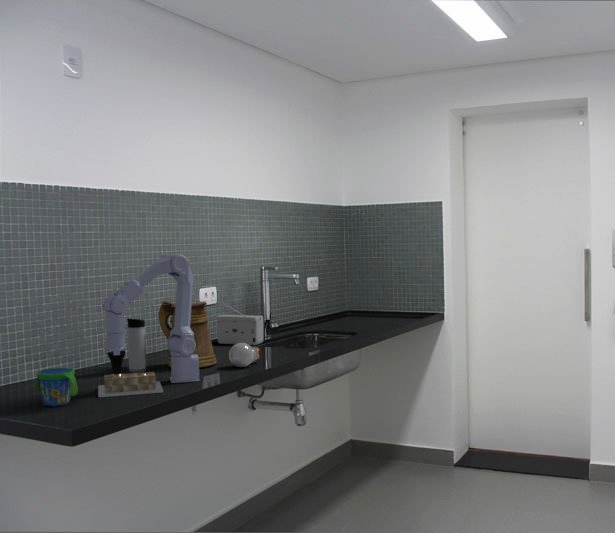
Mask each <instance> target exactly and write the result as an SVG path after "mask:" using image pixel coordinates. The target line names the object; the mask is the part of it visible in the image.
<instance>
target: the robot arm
mask: <svg viewBox="0 0 615 533" xmlns="http://www.w3.org/2000/svg"><path fill="white" fill-rule="evenodd" d="M190 263H191V261H190V259H188V258H187V256H185V255H183V254H182V253H178V254H174V253H173V254H171V253H165V254H163V255H161V256H160V257H159V258H157V259H155V262H154V263H152V264H151V265H150V266H149V267H148V268H147V269H146V270H145V271H144V272H143V273H141V275H140V276H138V277H137V278H136V279H130V280H126V281H124V284H123V286H122V287H120V288H119V289H118V290H115V291H113V295H108V296H106V298H105V299H104V301H103V304H102V305H101V306H102V308H103V310H104V311H105V318H106V319H105V320H106V321H105V324H106V325H105V326H106V329H105V330H106V345H104V346H102V348H103V350H108V352H107V353H106V355H107V357H108V359H109V361H110V365H111V369H112V375H113V374H120V373H121V372H122V367H123V361H124V358H125V357H126V356H125V355H126V351H125V350H124V349H127V346H126V331H125V330H126V329H125V328H126V327H125V326H126V325H125V324H126V323H125V312H126V311H127V310H128V306H129V305H130V304H131V303H132V302H133V301H135V300H136V299H137V298H138V297H139V296H140V295H141V294H143V288H144V287H146V286H147V285H148V284H149V283H151V282H152V281H153V280H155V279H156V278H158V277H159V276H160V275H161V274H167V275H170V276H171V277H172V278H173V279H174V280H175V281H176V293H175V303H176V307H175V322H174V328H173V329H172V330H171V331H170V337H169V339H168V340H167V341H166V348H167V349H168V351H169V352H170V351H171V367H170V369H171V371H170V372H171V377H169V380H170V382H171V384H179V383H192V382H200V367H199V359H198V355H197V354H194V355H193V352H194V350H195V347H196V343H195V340H194V333H193V331H192V330H191V328H190V320H191V305H192V302H193V287H194V275H193V272H192V270H191V267H190ZM121 374H122V373H121Z"/></svg>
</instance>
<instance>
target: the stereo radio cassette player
mask: <svg viewBox="0 0 615 533" xmlns="http://www.w3.org/2000/svg"><path fill="white" fill-rule="evenodd" d="M219 303H221V304H223V305H224V306H226V307H227V308H230V309H231V310H232V311H234V312H236V313H238V314H221V315H216V320H217V321H216V322H217V342H218V344H220V345H222V344H223V345H235V344H237V343H246V344H248V345H250V346H253V347H256V346H257V345H260V344H263V342H264V317H263V315H257V314H255V315H253V314H251V315H250V314H248V315H247V314H243V313H241V312H239V311H238V310H236V309H234V308H232V307H231V306H229V305H227V304H225V303H223V302H222V301H220V300H219Z"/></svg>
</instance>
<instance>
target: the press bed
mask: <svg viewBox="0 0 615 533" xmlns="http://www.w3.org/2000/svg"><path fill="white" fill-rule="evenodd" d="M97 387H98V388H97V395H98V398H109V397H121V396H122V397H123V396H134V395H149V394H159V393H164V389H163V386H162V384H161V382H160V381H159V380H158V381H156V388H145V389H132V390H119V391H106V392H105V384H102V385H99V384H98V386H97Z"/></svg>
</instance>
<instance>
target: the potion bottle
mask: <svg viewBox="0 0 615 533" xmlns="http://www.w3.org/2000/svg"><path fill="white" fill-rule="evenodd" d="M261 358H262V354H261V351H260V347H258V346H252V345H248V344H246V343H237V344H233V345H232V347H231V348H230V349H229V351H228V359H229V362H230V363H231V365H233V366H234V367H236V368H243V367H245V368H247V366H249V365H250V364H251V365H252V364H253V363H255V362H257V361H260V359H261Z"/></svg>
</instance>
